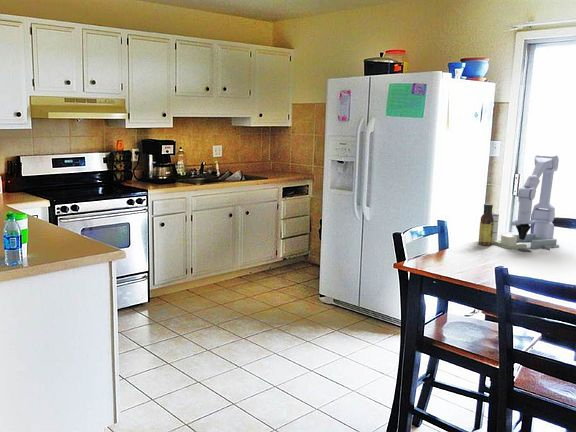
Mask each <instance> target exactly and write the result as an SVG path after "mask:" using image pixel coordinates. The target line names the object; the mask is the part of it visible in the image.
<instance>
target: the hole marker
mask: <svg viewBox="0 0 576 432" xmlns="http://www.w3.org/2000/svg"><path fill="white" fill-rule="evenodd" d="M516 249H517V251H518V252H522V253H531V252H532V250H531V249H527V248H516Z"/></svg>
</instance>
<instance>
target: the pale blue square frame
mask: <svg viewBox="0 0 576 432" xmlns="http://www.w3.org/2000/svg"><path fill="white" fill-rule="evenodd" d="M511 235H512V236H516V237H517V242H516V243H520V242H521V243H523V242H531V243H530V248H531V249H538V248H541V247H542V246H548V245H557V242H558V241H557V240H558V238H557V239H556V238H554V239H545V238H542V237H538V236H535V234H533V233H527V234H526V237H525V239H524V240H521V239H519V234H518V233H517V234H511ZM541 249H542V248H541Z"/></svg>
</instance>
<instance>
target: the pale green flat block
mask: <svg viewBox="0 0 576 432" xmlns="http://www.w3.org/2000/svg"><path fill="white" fill-rule="evenodd" d="M492 245H495V246H498V247H501V248H505V249H509V250H512V249H514V250H515V249H527V246H528V244H526V243H516V245H507V244H504V243H501V239H500V240H498V239H497V241H493V242H492Z"/></svg>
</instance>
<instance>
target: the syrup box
mask: <svg viewBox="0 0 576 432" xmlns="http://www.w3.org/2000/svg"><path fill="white" fill-rule="evenodd" d="M492 215H493V219H494V227H493V238H492V243H493V241H498V231H499V220H500V219H499V218H500V215H499V213H497V212H495V211H492Z"/></svg>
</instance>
